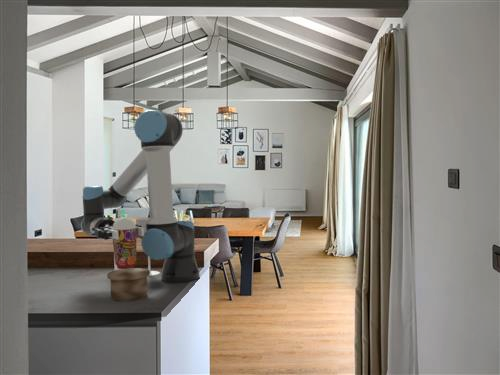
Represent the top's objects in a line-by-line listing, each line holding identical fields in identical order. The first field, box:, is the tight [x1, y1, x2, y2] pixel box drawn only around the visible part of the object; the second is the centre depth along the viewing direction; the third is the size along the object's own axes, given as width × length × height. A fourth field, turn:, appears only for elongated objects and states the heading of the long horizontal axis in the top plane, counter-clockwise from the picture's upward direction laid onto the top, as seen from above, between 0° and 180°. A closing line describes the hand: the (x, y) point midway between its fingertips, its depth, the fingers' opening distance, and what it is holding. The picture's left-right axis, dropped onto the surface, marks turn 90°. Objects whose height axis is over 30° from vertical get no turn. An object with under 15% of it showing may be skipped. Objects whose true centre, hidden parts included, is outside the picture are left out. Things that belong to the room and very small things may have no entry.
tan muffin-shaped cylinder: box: [106, 267, 151, 302], centre depth 153 cm, size 14×14×8 cm
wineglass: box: [135, 217, 161, 277], centre depth 187 cm, size 9×10×23 cm
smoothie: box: [111, 208, 138, 269], centre depth 152 cm, size 8×8×20 cm
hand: (130, 233), depth 149 cm, fingers closed on smoothie, 8 cm apart
